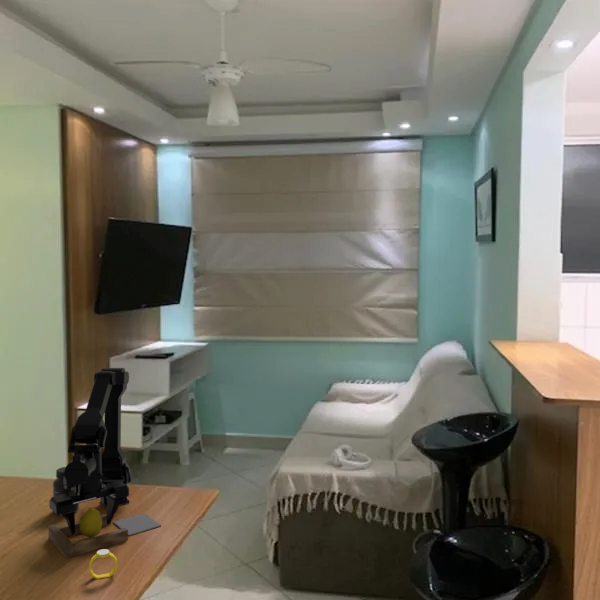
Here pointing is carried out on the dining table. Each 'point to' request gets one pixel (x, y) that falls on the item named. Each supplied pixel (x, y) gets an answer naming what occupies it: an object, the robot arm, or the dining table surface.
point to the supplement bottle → (59, 487)
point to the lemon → (90, 523)
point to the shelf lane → (72, 549)
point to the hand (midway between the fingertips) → (91, 529)
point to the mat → (137, 524)
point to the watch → (102, 554)
